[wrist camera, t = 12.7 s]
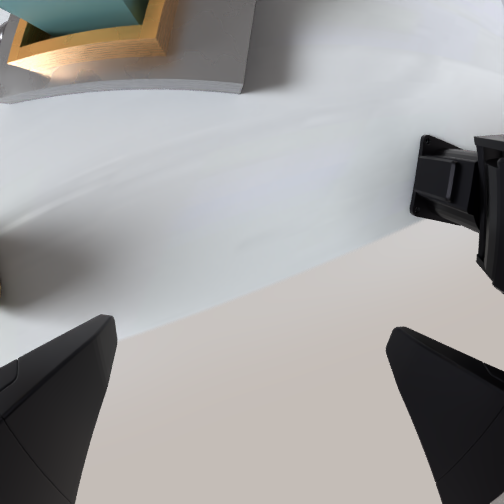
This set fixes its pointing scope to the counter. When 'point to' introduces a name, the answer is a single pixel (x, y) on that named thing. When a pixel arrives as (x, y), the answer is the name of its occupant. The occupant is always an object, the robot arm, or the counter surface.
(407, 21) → the counter surface
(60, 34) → the oil can
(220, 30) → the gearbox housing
